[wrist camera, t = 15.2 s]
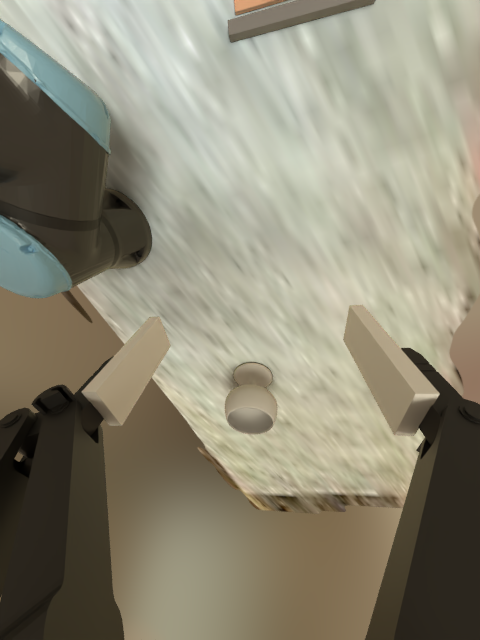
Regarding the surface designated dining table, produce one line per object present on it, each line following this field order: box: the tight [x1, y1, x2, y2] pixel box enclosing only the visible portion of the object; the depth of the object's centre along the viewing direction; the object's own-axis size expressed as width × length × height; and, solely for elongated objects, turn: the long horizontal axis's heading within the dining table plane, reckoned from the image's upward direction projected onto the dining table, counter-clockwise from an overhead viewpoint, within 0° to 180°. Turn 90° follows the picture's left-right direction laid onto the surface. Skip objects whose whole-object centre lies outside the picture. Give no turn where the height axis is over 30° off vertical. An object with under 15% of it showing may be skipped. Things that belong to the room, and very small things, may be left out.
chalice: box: [225, 363, 277, 434], centre depth 56 cm, size 14×14×15 cm
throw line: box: [228, 0, 375, 42], centre depth 25 cm, size 18×1×2 cm, turn 97°
